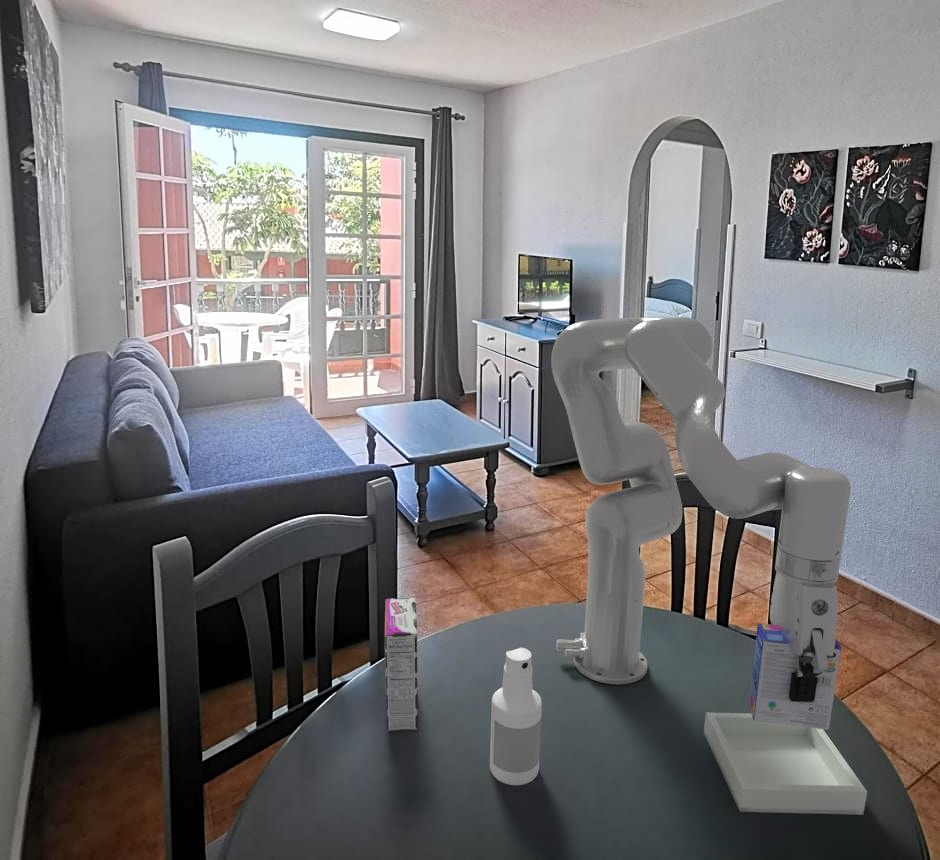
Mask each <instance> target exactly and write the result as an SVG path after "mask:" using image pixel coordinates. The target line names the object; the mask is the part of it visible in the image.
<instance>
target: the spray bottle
mask: <svg viewBox="0 0 940 860" xmlns="http://www.w3.org/2000/svg"><path fill="white" fill-rule="evenodd" d="M533 688H534V684H533V665H532V652H531V651H530V649H529V650H528V649H527V648H525V647H519V648H516V649H512V650H508V651H506V653H505V663H504V666H503V679H502V687H500V688H499V689H498V690H495V692H494V693H493V695H492V697H491V718H490V719H491V720H490V746H489V747H490V748H489V750H490V752H489V770H490V772H491V774H492V776H493V777H494V778H495V779H496V780H497V781H499V782H500V783H503V784H505V785H508V786H509V785H510V786H522V785H528V784H529V783H531V782H532V781H534V779H536V777H537V776H538V774H539V770H540V753H541V737H542V736H541V735H542V733H541V731H542V715H543V713H542V712H543V702H542V698H541V696H540V694H539V693H538V692H537V691H536V690H534V689H533Z"/></svg>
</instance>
